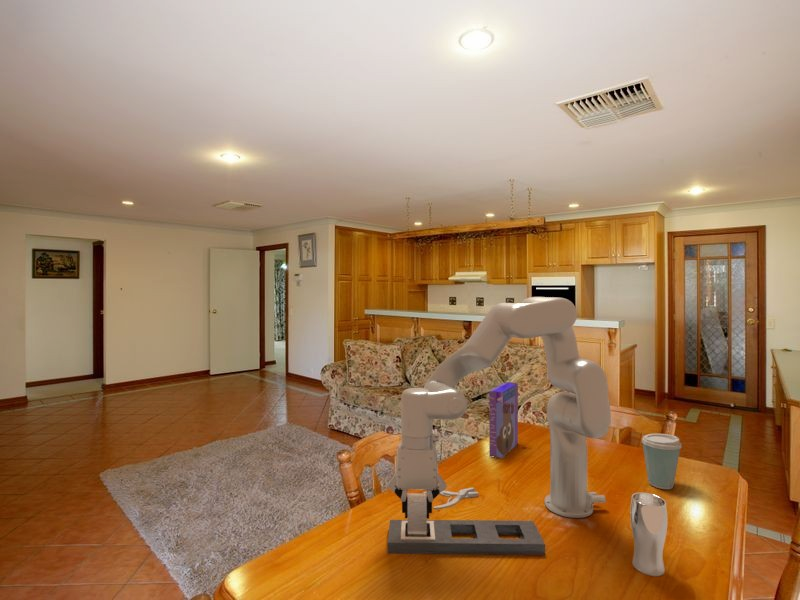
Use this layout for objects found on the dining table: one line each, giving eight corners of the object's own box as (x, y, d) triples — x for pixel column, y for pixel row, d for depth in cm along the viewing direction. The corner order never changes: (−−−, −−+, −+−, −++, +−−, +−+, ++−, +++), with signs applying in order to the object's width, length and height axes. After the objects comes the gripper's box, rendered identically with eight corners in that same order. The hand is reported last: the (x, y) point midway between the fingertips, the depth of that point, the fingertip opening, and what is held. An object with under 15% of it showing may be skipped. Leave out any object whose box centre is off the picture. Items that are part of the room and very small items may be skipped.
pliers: (422, 489, 130) (469, 482, 134) (422, 494, 130) (469, 487, 134) (434, 505, 120) (483, 497, 124) (434, 510, 120) (483, 503, 124)
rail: (533, 530, 109) (533, 519, 109) (545, 554, 99) (545, 542, 99) (390, 529, 110) (389, 518, 110) (387, 553, 100) (387, 541, 100)
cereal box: (502, 459, 155) (502, 392, 154) (489, 456, 158) (489, 390, 157) (517, 444, 170) (517, 383, 169) (505, 441, 172) (505, 381, 171)
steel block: (426, 525, 107) (426, 493, 107) (426, 536, 103) (426, 502, 102) (407, 525, 107) (407, 493, 107) (407, 535, 103) (407, 502, 103)
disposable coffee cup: (643, 489, 131) (643, 440, 130) (638, 475, 141) (639, 429, 140) (685, 495, 127) (685, 444, 126) (677, 480, 137) (677, 432, 136)
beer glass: (623, 558, 98) (623, 492, 97) (652, 556, 98) (653, 491, 98) (643, 579, 91) (643, 508, 90) (674, 576, 91) (675, 506, 91)
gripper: (450, 435, 108) (450, 508, 108) (382, 435, 108) (383, 507, 109) (453, 446, 100) (453, 524, 101) (380, 445, 101) (380, 523, 101)
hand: (417, 514), depth 105 cm, fingers closed on steel block, 4 cm apart
